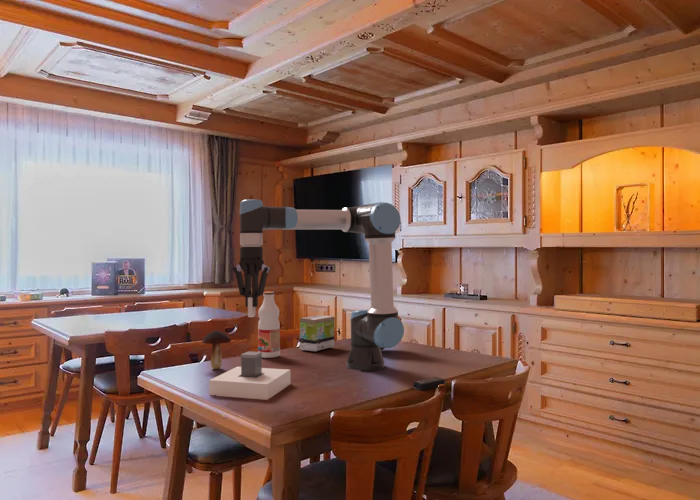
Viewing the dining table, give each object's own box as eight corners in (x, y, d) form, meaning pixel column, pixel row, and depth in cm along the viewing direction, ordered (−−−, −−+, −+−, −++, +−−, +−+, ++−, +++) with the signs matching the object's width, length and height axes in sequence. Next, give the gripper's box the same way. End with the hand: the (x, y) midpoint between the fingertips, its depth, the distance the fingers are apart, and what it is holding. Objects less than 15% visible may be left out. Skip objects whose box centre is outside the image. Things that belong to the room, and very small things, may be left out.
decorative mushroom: (205, 366, 212) (205, 328, 212) (233, 365, 213) (233, 328, 213) (199, 372, 202) (199, 333, 201) (228, 372, 202) (228, 332, 202)
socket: (290, 384, 185) (290, 369, 185) (267, 400, 165) (267, 384, 165) (237, 380, 190) (237, 366, 190) (209, 395, 170) (209, 380, 170)
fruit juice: (281, 357, 229) (281, 292, 228) (259, 358, 226) (258, 293, 226) (278, 353, 238) (278, 290, 237) (257, 354, 235) (257, 291, 235)
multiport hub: (445, 386, 183) (445, 379, 183) (421, 391, 177) (421, 384, 177) (436, 383, 187) (436, 376, 187) (412, 388, 181) (412, 381, 181)
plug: (261, 381, 179) (261, 352, 179) (255, 385, 174) (255, 355, 174) (247, 380, 181) (247, 351, 181) (240, 384, 176) (240, 354, 176)
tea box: (316, 352, 240) (316, 319, 240) (299, 349, 246) (299, 317, 246) (335, 346, 253) (335, 315, 253) (317, 344, 258) (317, 314, 258)
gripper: (273, 246, 179) (274, 315, 180) (238, 246, 183) (238, 314, 183) (265, 246, 172) (265, 318, 172) (228, 246, 175) (228, 317, 176)
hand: (251, 316), depth 178 cm, fingers closed
